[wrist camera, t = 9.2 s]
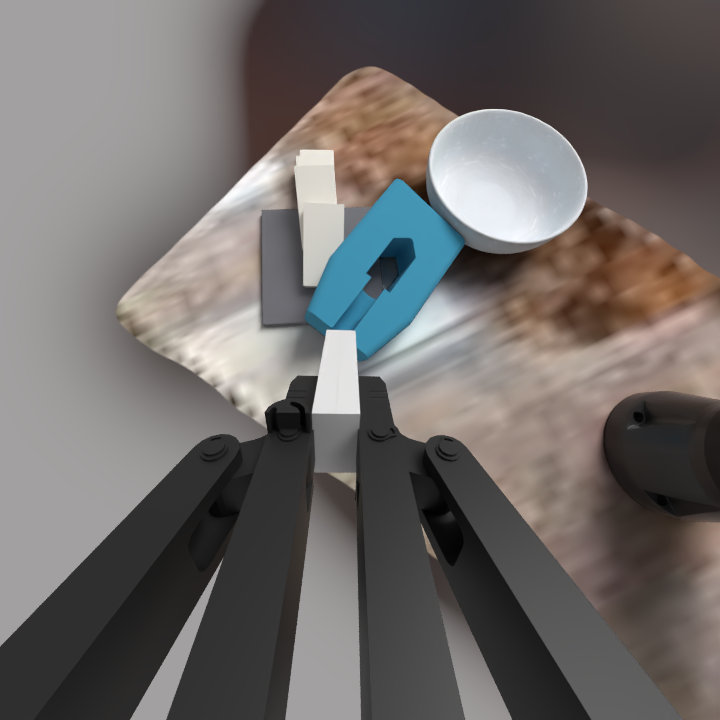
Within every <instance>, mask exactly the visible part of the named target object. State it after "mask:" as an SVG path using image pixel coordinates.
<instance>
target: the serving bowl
mask: <svg viewBox="0 0 720 720" xmlns="http://www.w3.org/2000/svg"><path fill="white" fill-rule="evenodd" d="M426 186H427V194H428V198H429V202H430V205H431V207H432V209H433V210H434V211H435V212H436V213H437V214H438V215H439V216H441V217H442V218H443V219H444V220H445V221H446V222H447V223H448V224H449V225H450V226H451V227H452V228H453V229H454V230H455V231H456V232H458V233H459V234H460V235H461V236H462V237H463V238H464V240H465V245H467V246H469V247H471V248H474V249H477V250H480V251H483V252H488V253H495V254H512V253H519V252H523V251H527V250H531V249H533V248H536V247H538V246H541V245H543V244H545V243H547V242H549V241H550V240H552V239H554V238H555V237H557V236H558V235H560V234H562V233H563V232H564V231H566V230H567V229H568V228H569V227H570V226H571V225H572V224H573V223H574V222H575V221H576V220H577V218H578V217H579V215H580V213H581V212H582V209H583V207H584V205H585V201H586V196H587V179H586V174H585V170H584V167H583V165H582V162H581V160H580V158H579V156H578V155H577V153H576V152H575V150H574V149H573V147H572V146H571V145H570V143H569V142H568V141H567V140H566V139H565V138H564V137H563V136H562V135H561V134H560V133H559V132H557V131H556V130H555V129H553V128H552V127H551V126H549V125H547V124H546V123H544V122H542V121H540V120H538V119H536V118H534V117H532V116H529V115H526V114H523V113H519V112H516V111H510V110H500V109H488V110H479V111H475V112H471V113H468V114H465V115H462V116H460V117H458V118H456V119H455V120H453V121H451V122H450V123H449V124H447V125H446V126H445V127H444V128H443V129H442V130H441V131H440V132H439V134H438V135H437V136H436V138H435V140H434V142H433V144H432V147H431V149H430V153H429V158H428V164H427V171H426Z"/></svg>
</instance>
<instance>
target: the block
mask: <svg viewBox="0 0 720 720" xmlns="http://www.w3.org/2000/svg"><path fill="white" fill-rule="evenodd" d="M464 245H465V240H464V238H463V237H462V236H461V235H460V234H459V233H458V232H456V231H455V230H454V229H453V228H452V227H451V226H450V225H449V224H448V223H447V222H446V221H445V220H444V219H443V218H442V217H441V216H439V215H438V214H437V213H436V212H435V211H434V210H433V209H432V208H431V207H430V206H429V205H428V204H427V203H426V202H425V201H424V200H422V199H421V198H420V197H419V196H418V195H417V194H416V193H415V192H414V191H413V190H412V189H411V188H410V187H409V186H408V185H407V184H405V183H404V182H403V181H402V180H400V179H396V180H394V181H393V183H392V184H391V185H390V186H389V187H388V189H387V190H386V191H385V192H384V193H383V195H382V196H381V197H380V198H379V199H378V200H377V202H376V203H375V204H374V205H373V206H372V208H371V209H370V210H369V211H368V212H367V214H366V215H365V216H364V217H363V218H362V219H361V221H360V222H359V223H358V224H357V225H356V227H355V228H354V229H353V230H352V231H351V233H350V234H349V235H348V236H347V237H346V239H345V240H344V241H343V242H342V243H341V244H340V246H339V247H338V248H337V249H336V250H335V252H334V253H333V254H332V255H331V256H330V258H329V260H328V262H327V264H326V267H325V269H324V271H323V274H322V276H321V278H320V281H319V283H318V285H317V288H316V290H315V292H314V295H313V297H312V299H311V302H310V304H309V306H308V309H307V311H306V314H305V320H306V321H307V322H308V323H309V324H310V325H311V326H312V327H314V328H315V329H316V330H318V331H319V332H320V333H322V334H323V335H324V336H326V331H327V330H352V331H355V332H356V349H357V360H358V361H363V360H366V359H368V358H370V357H371V356H372V355H373V354H374V353H376V352H377V351H378V350H379V349H381V348H382V347H383V346H384V345H385V344H387V343H388V342H389V341H390V340H391V339H393V338H394V337H395V336H396V335H398V334H399V333H400V332H401V331H402V330H404V329H405V328H406V327H407V326H409V325H410V324H411V322H412V321H413V319H414V318H415V316H416V315H417V313H418V312H419V311H420V309H421V308H422V306H423V305H424V303H425V302H426V300H427V299H428V297H429V296H430V295H431V293H432V292H433V290H434V289H435V287H436V286H437V284H438V283H439V281H440V280H441V278H442V277H443V276H444V274H445V273H446V271H447V270H448V268H449V267H450V265H451V264H452V262H453V261H454V260H455V258H456V257H457V255H458V254H459V252H460V251H461V249H462V248H463V246H464ZM379 257H395V258H396V260H397V266H398V272H399V275H398V276H397V277H396V279H395V280H394V282H393V283H392V284H391V286H390V287H389V288H388V290H386V289H384V290H383V291H382V292H381V294H380V295H379V296H378V298H377V299H376V300H375V299H373V298H371V297H370V296H368V295H367V294H366V293H365V292H364V291H363V290H362V289H363V287H364V286H365V285H366V283H367V282H368V281H369V280H370V278H371V277H370V276H369V275H368V274H367V272H368V271H369V270H370V268H371V267H372V266H373V265H374V263H375V262H376V261H377V259H378V258H379Z"/></svg>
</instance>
